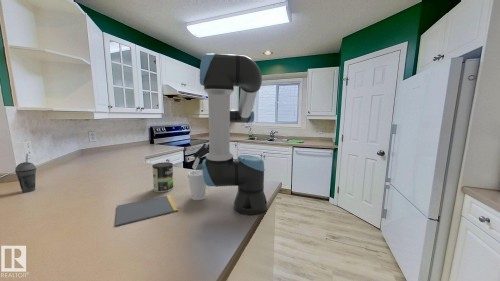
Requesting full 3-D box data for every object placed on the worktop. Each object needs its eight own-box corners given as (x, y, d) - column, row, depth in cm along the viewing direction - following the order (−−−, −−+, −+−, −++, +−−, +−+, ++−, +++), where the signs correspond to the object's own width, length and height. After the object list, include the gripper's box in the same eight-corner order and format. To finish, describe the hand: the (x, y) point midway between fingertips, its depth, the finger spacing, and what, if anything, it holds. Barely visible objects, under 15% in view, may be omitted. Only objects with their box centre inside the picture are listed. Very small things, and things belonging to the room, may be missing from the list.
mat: (177, 211, 82) (177, 209, 82) (115, 226, 70) (115, 224, 70) (169, 196, 97) (169, 194, 97) (117, 206, 85) (117, 205, 85)
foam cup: (210, 194, 100) (210, 170, 98) (204, 202, 91) (204, 175, 89) (193, 193, 101) (192, 169, 99) (185, 200, 92) (184, 174, 90)
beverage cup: (16, 192, 99) (10, 154, 96) (36, 187, 105) (31, 152, 103) (20, 194, 96) (14, 156, 93) (41, 190, 102) (36, 153, 100)
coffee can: (177, 186, 110) (176, 162, 108) (166, 193, 100) (165, 167, 98) (161, 184, 112) (160, 161, 110) (149, 191, 102) (147, 166, 100)
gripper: (238, 143, 112) (228, 175, 100) (202, 141, 120) (188, 170, 108) (235, 135, 106) (223, 168, 94) (197, 133, 114) (181, 164, 102)
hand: (204, 169), depth 101 cm, fingers open, 13 cm apart
